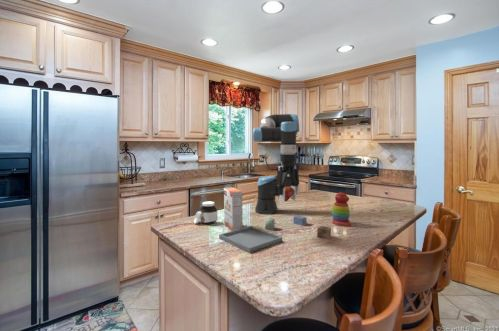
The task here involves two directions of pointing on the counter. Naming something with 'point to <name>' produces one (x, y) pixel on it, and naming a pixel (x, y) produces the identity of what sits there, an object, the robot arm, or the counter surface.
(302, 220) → the lavender blue block
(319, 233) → the walnut block
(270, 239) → the tray
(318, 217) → the counter surface
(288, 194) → the pomegranate
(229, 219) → the cracker box
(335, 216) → the stacking bear
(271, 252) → the counter surface
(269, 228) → the sage block
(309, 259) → the counter surface
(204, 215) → the spread jar
